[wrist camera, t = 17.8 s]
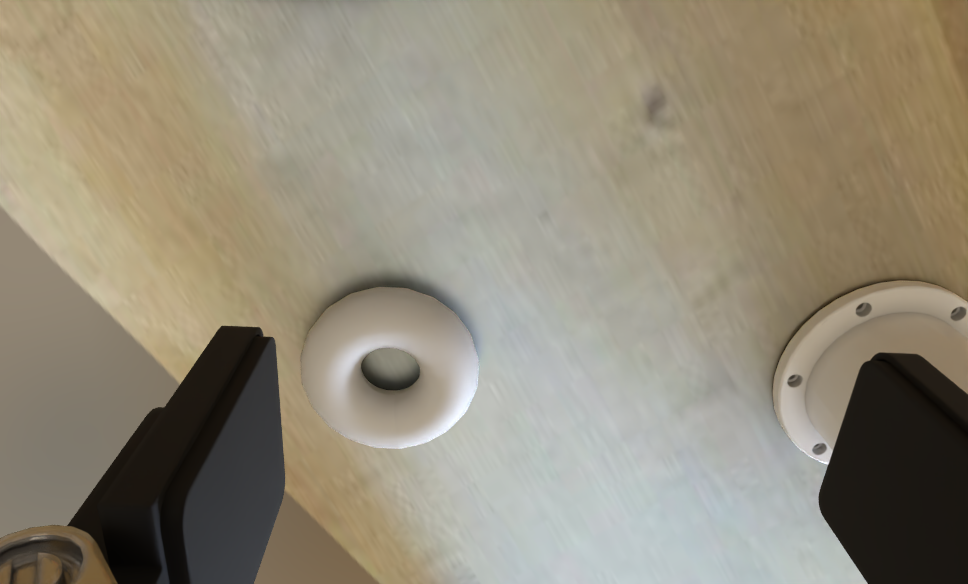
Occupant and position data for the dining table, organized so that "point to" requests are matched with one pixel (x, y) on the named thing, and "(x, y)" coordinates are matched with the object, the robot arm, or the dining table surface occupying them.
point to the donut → (389, 324)
